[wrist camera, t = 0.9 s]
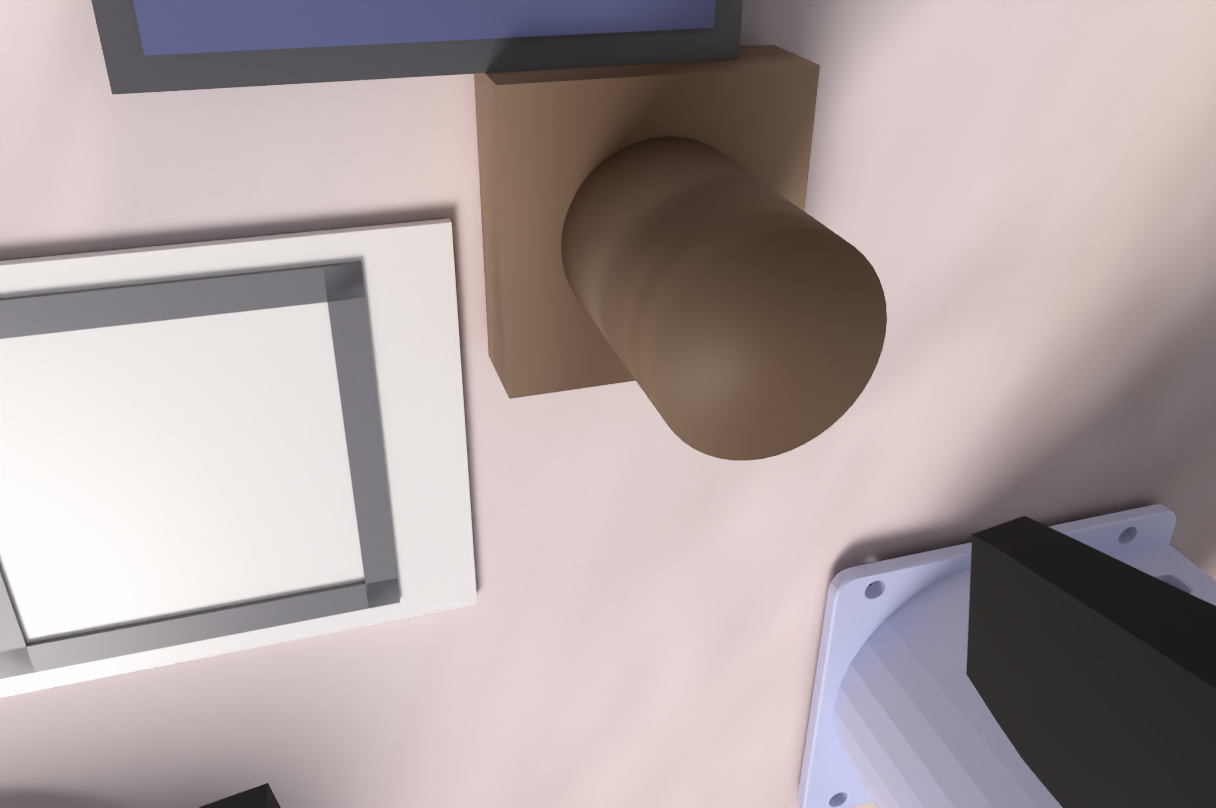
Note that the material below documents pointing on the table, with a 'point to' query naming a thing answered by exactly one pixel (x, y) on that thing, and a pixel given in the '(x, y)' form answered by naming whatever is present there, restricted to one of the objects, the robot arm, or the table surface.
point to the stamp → (673, 247)
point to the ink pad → (395, 38)
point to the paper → (227, 447)
